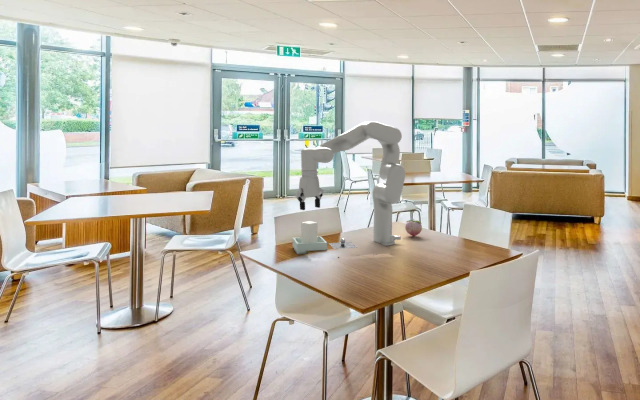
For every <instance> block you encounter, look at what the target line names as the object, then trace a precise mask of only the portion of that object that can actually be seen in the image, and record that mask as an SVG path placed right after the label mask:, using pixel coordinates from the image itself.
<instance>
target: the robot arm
mask: <svg viewBox="0 0 640 400" xmlns="http://www.w3.org/2000/svg"><path fill="white" fill-rule="evenodd" d="M402 136H403V135H402V131H401V130H400V129H399V128H397V127H395V126H392V125H388V124H385V123H381V122H379V121H374V120H369V121H364V122H361V123H359V124H358V125H356V126H354V127H352V128H351V129H349V130H347V131H345V132H343V133H341V134H339V135H336V137H333V138H331V139H329V140H326V141H325V142H323V143H322V144H320V145H318V146H316V147H315V148H313V147H312V148H311V147H308V148H307V147H305V148H302V149H301V151H300V158H301V161H300V163H301V165H300V166H301V176H300V177H299V184H298V190H297V191H296V192H295V197H296V199H297V200H298V202H299V209H300V211H305V210H306V201H305V200H306V199H307V198H315V199H314V207H315V208H318V209H320V208H321V199H322V197H323V196H324V195H323V194H324V191H325V190H324V189H323V188H320V187H321V186H320V180H319V176H318V173H319V171H318V163H321V164H328V163H330V162H332V161H333V160H334V157H335V154H337V153H340V152H345V151H348V150H351V149H354V148H355V147H357V146H359V145H360V144H362V143H364V142H365V141H367V140H369V139H371V140H377V142H379V144H380V145H381V147H382V159H381V164H380V168H379V171H378V172H379V173H378V174H379V175H378V176H379V178H380V179H381V180H382V181H385V182H380V183H377V184H376V185H375V186H374V187H373V190H372V199H373V237H372V238H373V242H374V243H379V244H380V245H381V246H384V247H387V246H388V247H389V246H394V245H395V244H396V243H395V241H396V240H397V241H398V240H401V239H402V237H401V235H394V234H392V233H393V205H394V204H396V203H398V202H399V201H400V199H401V196H402V193H403V188H404V185H405V184H404V183H405V180H406V170H405V168H404V167H403V166H402V164H399V163H400V155H401V154H400V153H401V149H400V145H399V143H400V142H401V140H402Z"/></svg>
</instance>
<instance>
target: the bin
mask: <svg viewBox="0 0 640 400" xmlns="http://www.w3.org/2000/svg"><path fill="white" fill-rule="evenodd" d="M292 248H294V249H293V250H294V251H295V252H296V254H297V255H302V254H303V255H305V254H306V255H307V254H309V253H308V251H310V252H311V251H325V250H328V242H327V241H326V240H325V239H324V238H323V237H322V235H321V236H320V235H319V236H318V235H317V243H301V237H299V236H298V237H296V236H295V237H292Z"/></svg>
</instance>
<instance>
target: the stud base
mask: <svg viewBox="0 0 640 400" xmlns="http://www.w3.org/2000/svg"><path fill="white" fill-rule="evenodd" d="M328 245H330V246H331V248H332V249H334V250H336V249H354V248H355V249H356V248H357V249H358V246H356V244H354V243H353V242H351V241H349V242H346V239H345V238H344V237H343V238H340V242H330V243H329V242H328Z"/></svg>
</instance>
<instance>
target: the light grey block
mask: <svg viewBox="0 0 640 400" xmlns="http://www.w3.org/2000/svg"><path fill="white" fill-rule="evenodd" d="M300 228H301V233H300V235H301V243H317V236H318V222H316V221H312V220H307V221H302V222H301V226H300Z"/></svg>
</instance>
